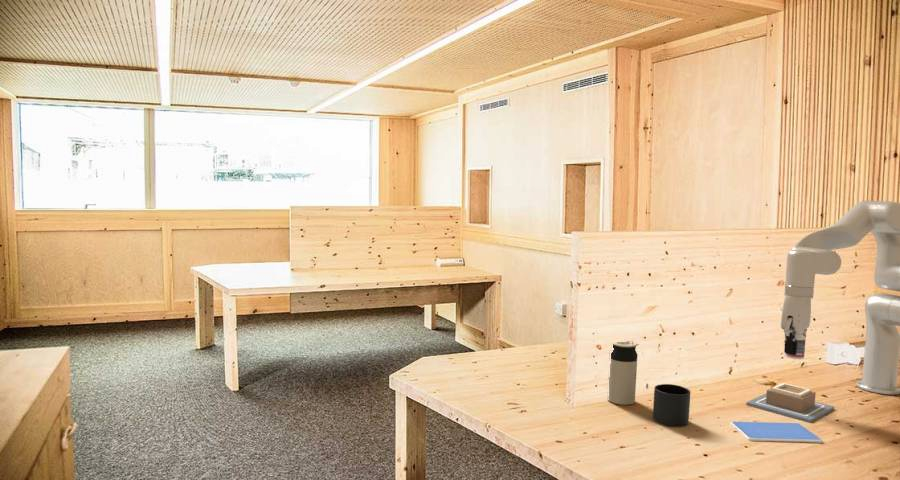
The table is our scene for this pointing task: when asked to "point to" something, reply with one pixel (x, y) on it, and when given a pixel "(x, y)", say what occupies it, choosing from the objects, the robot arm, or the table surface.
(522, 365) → the table surface
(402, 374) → the table surface
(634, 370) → the travel mug
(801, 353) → the pill bottle
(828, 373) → the table surface
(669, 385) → the mug
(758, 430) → the blue rectangular panel
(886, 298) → the robot arm
